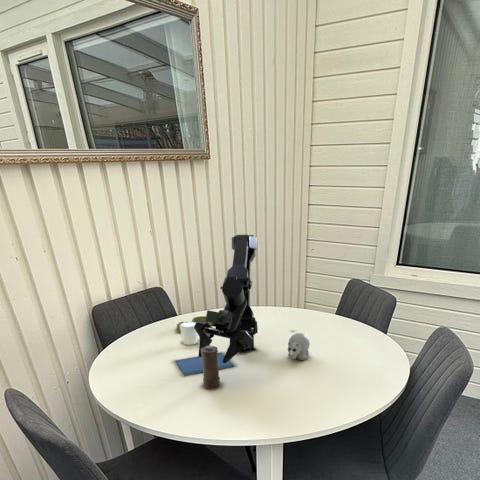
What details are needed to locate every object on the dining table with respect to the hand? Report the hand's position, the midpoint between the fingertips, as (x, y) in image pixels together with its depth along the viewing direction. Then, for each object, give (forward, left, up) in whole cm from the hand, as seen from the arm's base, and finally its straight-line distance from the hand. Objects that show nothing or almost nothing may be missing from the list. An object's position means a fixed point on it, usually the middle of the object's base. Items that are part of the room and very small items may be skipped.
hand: (211, 359), depth 122 cm
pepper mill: (+1, 0, -8) cm, 8 cm away
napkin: (-2, -17, -8) cm, 19 cm away
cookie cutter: (-11, -55, -8) cm, 57 cm away
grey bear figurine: (-32, -6, -8) cm, 33 cm away
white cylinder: (-4, -39, -8) cm, 40 cm away
